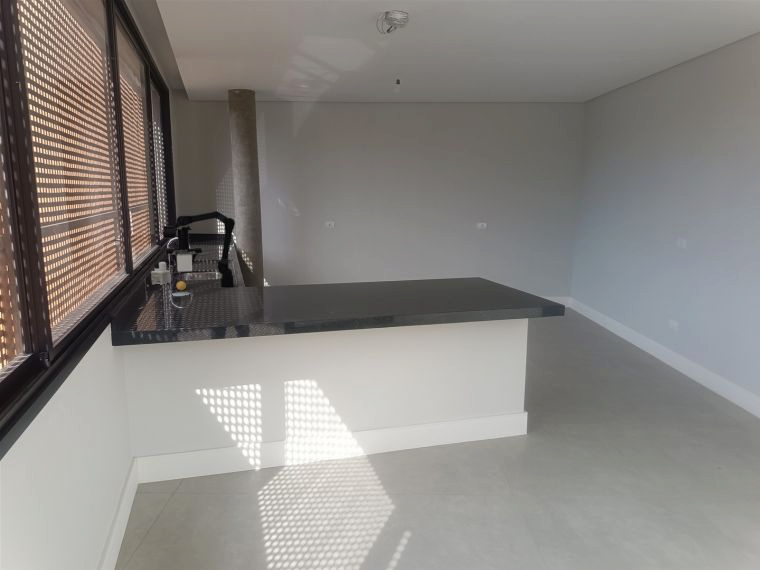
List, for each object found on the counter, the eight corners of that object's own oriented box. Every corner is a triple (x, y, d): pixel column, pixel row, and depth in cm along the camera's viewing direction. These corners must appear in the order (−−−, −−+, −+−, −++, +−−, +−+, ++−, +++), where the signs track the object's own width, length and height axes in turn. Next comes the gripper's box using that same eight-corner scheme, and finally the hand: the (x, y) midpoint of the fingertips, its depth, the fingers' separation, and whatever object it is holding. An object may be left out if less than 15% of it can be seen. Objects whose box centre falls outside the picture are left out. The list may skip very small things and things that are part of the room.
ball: (186, 289, 295) (185, 280, 294) (186, 290, 291) (185, 281, 290) (176, 289, 294) (176, 280, 293) (176, 291, 289) (176, 282, 288)
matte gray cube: (192, 269, 302) (191, 253, 300) (192, 271, 295) (191, 255, 293) (177, 269, 299) (177, 254, 298) (177, 271, 292) (176, 255, 290)
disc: (190, 291, 287) (190, 291, 287) (190, 295, 278) (190, 295, 278) (171, 293, 284) (171, 292, 284) (170, 296, 275) (170, 296, 275)
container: (151, 284, 309) (149, 262, 307) (160, 282, 317) (159, 260, 314) (162, 285, 307) (161, 263, 305) (171, 282, 314) (169, 261, 312)
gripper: (200, 236, 304) (201, 263, 307) (165, 237, 298) (167, 264, 301) (201, 238, 294) (202, 266, 297) (165, 238, 288) (166, 267, 290)
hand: (184, 265), depth 296 cm, fingers closed on matte gray cube, 8 cm apart
